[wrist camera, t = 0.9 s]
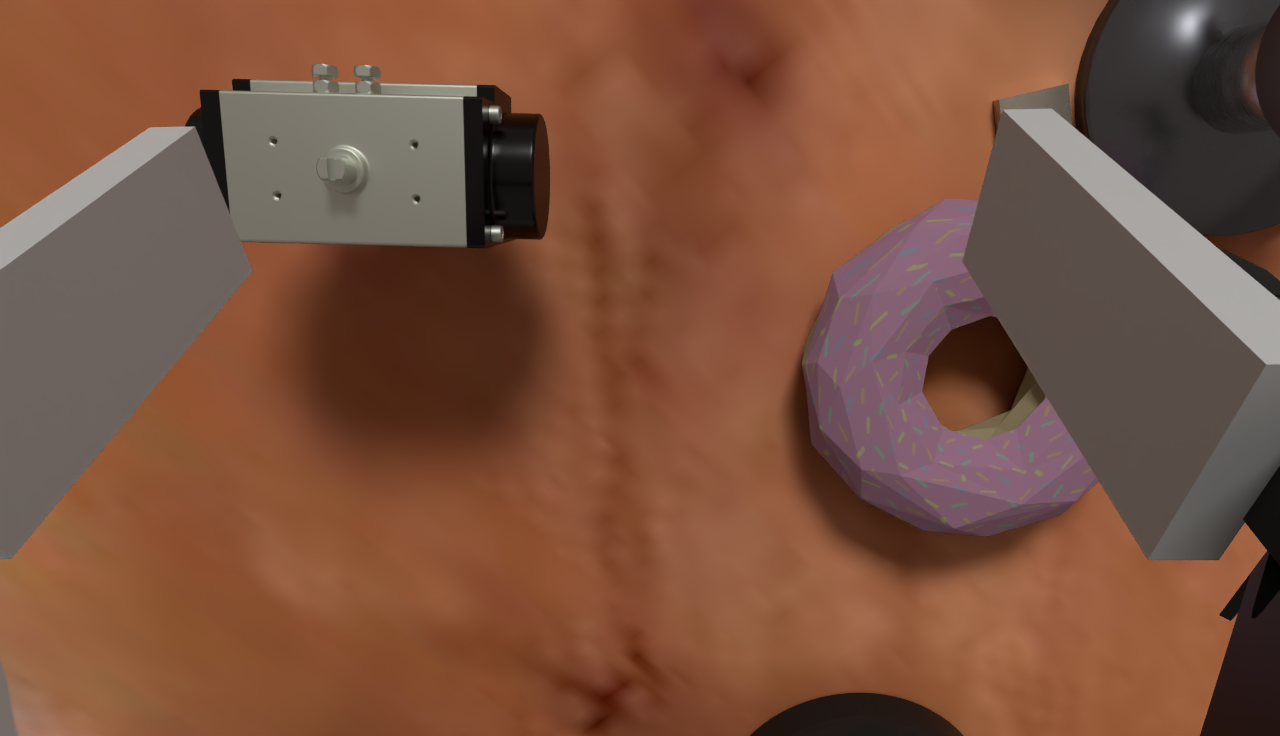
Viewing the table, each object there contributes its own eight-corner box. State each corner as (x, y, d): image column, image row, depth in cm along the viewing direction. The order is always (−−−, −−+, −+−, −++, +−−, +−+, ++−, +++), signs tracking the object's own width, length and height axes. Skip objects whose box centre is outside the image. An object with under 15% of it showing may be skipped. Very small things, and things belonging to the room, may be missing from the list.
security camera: (565, 234, 35) (524, 251, 23) (314, 228, 35) (147, 242, 23) (566, 109, 34) (522, 61, 22) (305, 103, 34) (125, 51, 22)
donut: (727, 351, 36) (740, 374, 32) (981, 126, 34) (1037, 114, 29) (927, 568, 39) (967, 621, 34) (1177, 372, 36) (1259, 399, 32)
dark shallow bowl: (1377, 199, 34) (1527, 198, 28) (1013, 277, 35) (1085, 292, 29) (1374, -112, 32) (1539, -183, 26) (979, -18, 32) (1052, -66, 27)
